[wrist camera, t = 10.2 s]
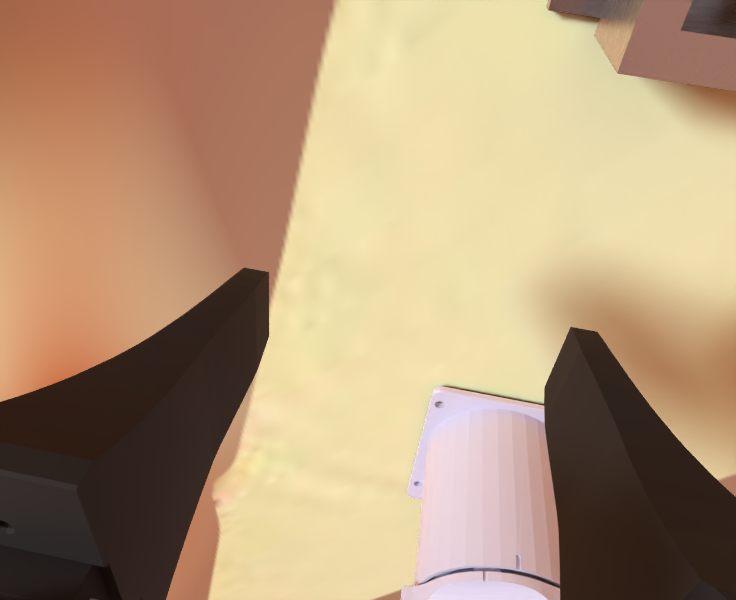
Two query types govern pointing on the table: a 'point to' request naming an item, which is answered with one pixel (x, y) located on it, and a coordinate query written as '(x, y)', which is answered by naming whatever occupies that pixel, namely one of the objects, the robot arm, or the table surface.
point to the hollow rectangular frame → (670, 41)
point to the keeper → (591, 3)
